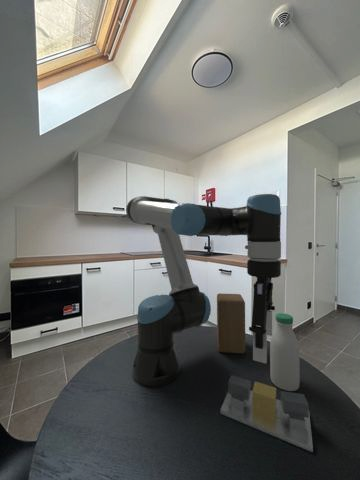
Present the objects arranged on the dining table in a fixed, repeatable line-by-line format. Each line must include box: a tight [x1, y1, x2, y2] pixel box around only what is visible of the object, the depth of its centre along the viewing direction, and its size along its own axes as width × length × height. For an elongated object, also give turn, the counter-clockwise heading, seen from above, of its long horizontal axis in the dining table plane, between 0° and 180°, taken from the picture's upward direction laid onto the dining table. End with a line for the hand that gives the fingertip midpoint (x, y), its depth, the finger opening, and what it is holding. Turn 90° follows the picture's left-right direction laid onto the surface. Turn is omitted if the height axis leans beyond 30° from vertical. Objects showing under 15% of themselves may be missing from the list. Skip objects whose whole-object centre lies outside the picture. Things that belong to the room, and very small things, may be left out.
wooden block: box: [216, 293, 246, 354], centre depth 80 cm, size 10×10×20 cm
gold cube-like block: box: [251, 381, 277, 421], centre depth 49 cm, size 5×4×5 cm
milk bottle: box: [269, 312, 300, 392], centre depth 60 cm, size 8×8×20 cm
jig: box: [220, 374, 314, 453], centre depth 49 cm, size 19×10×6 cm, turn 61°
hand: (263, 346), depth 49 cm, fingers open, 13 cm apart
